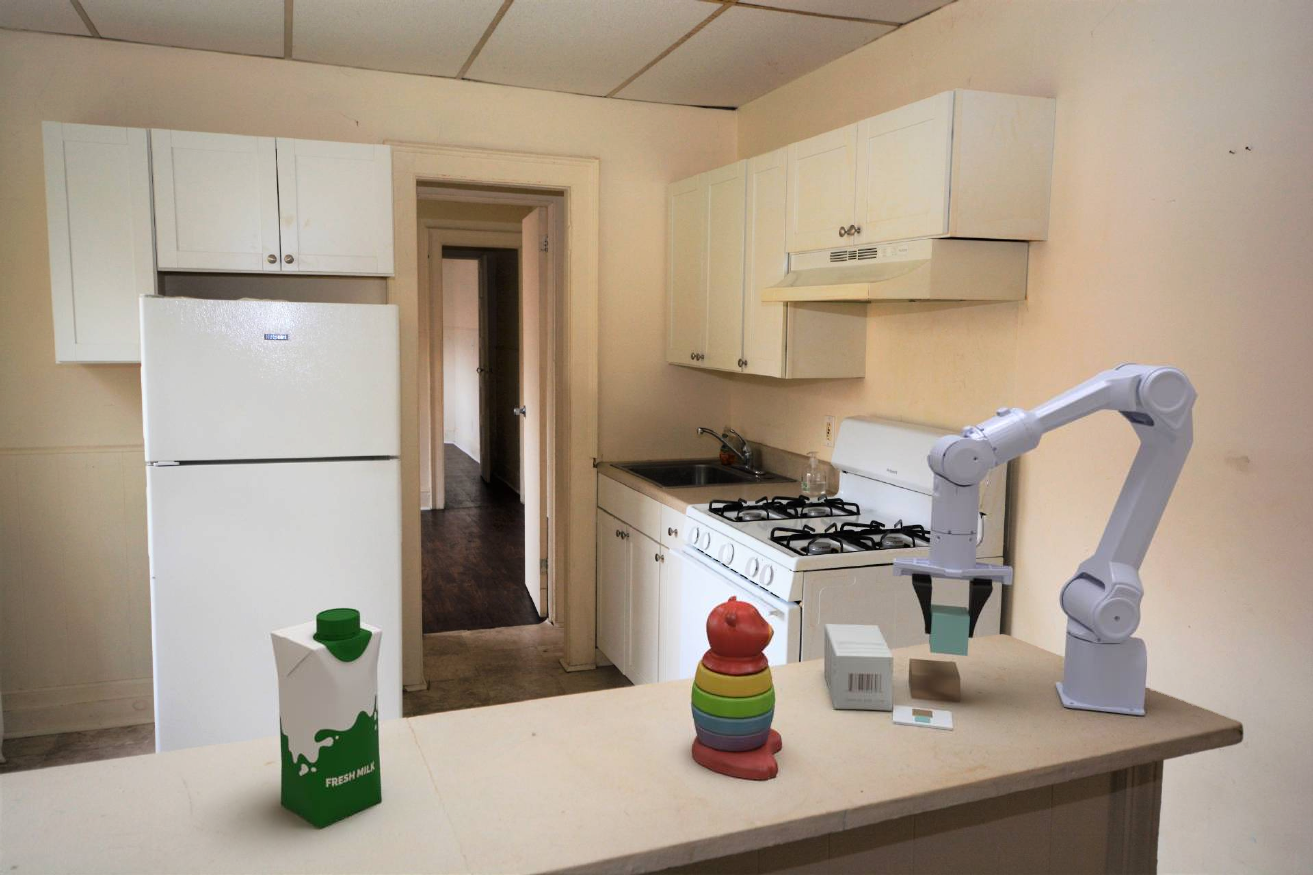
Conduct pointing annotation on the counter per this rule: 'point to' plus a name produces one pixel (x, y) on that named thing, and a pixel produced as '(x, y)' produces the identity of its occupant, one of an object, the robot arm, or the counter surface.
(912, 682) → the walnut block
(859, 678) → the supplement box
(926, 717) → the page
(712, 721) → the stacking bear
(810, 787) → the counter surface
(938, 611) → the teal block
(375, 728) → the milk carton
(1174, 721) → the counter surface
